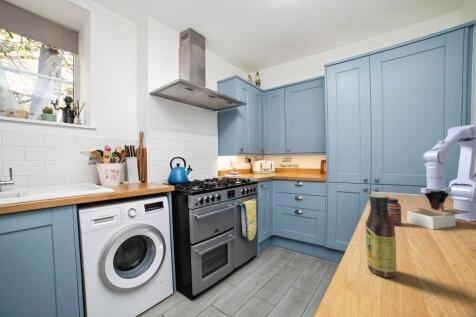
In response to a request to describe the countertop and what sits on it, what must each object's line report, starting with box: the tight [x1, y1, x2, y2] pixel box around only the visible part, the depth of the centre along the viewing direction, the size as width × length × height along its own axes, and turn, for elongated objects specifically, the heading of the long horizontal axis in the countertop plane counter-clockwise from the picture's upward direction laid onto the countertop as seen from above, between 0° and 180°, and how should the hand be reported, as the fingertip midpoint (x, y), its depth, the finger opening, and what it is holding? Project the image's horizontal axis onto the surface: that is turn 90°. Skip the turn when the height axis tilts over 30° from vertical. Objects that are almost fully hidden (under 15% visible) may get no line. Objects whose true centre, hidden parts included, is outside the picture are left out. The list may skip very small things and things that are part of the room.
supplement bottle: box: [388, 197, 402, 227], centre depth 88 cm, size 6×6×11 cm
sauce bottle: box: [365, 193, 398, 278], centre depth 51 cm, size 7×6×20 cm
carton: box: [406, 209, 456, 230], centre depth 86 cm, size 12×10×5 cm
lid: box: [417, 202, 468, 215], centre depth 87 cm, size 12×10×4 cm
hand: (436, 208), depth 87 cm, fingers closed on lid, 2 cm apart
